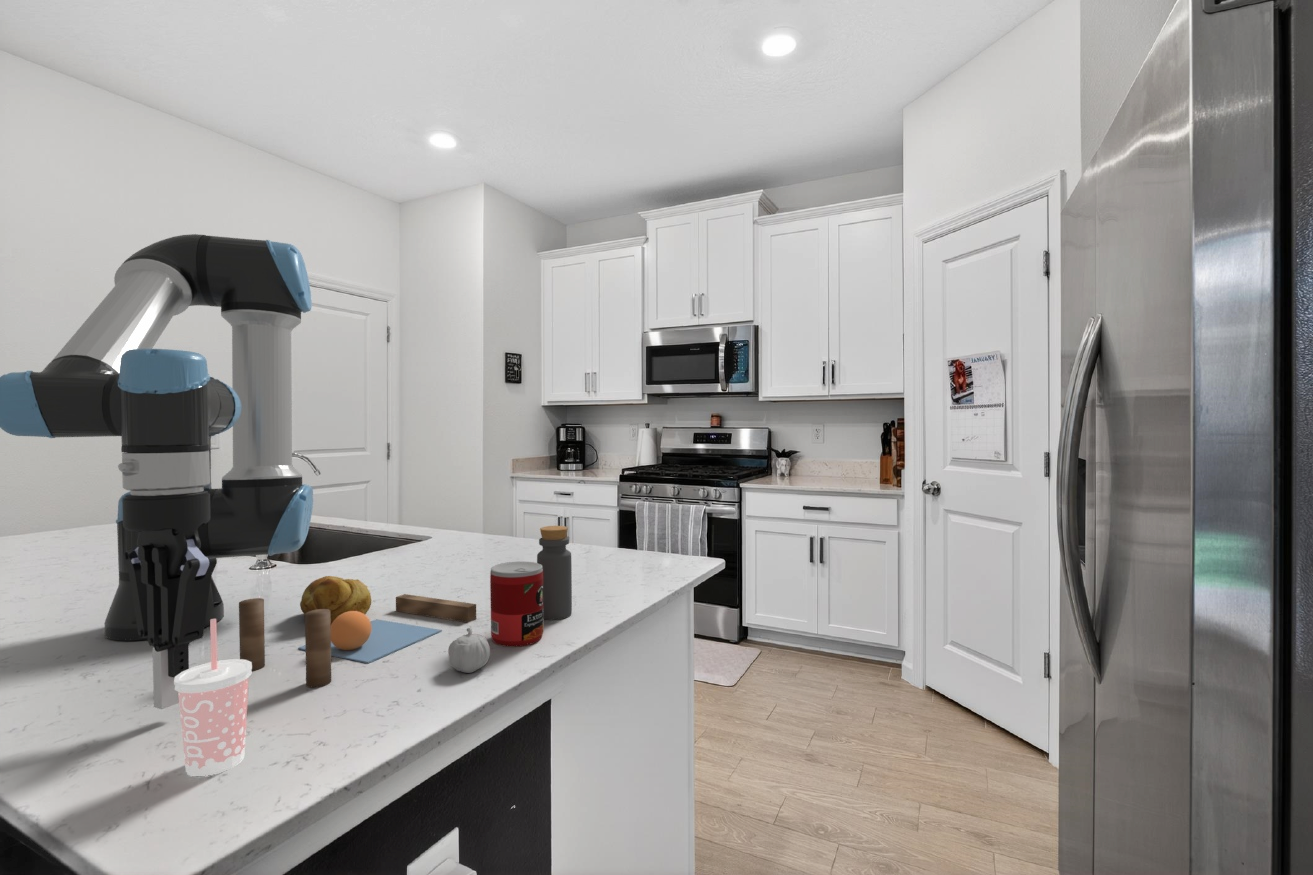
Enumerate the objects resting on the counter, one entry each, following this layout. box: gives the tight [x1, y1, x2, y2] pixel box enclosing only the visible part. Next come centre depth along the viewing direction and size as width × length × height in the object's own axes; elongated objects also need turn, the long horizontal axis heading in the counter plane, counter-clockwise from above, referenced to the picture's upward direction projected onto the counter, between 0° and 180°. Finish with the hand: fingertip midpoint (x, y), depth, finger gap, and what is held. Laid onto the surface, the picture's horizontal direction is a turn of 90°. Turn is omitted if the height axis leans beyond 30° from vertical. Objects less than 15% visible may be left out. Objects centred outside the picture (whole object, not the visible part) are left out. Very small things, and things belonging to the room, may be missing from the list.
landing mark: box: [298, 618, 443, 664], centre depth 92 cm, size 14×14×1 cm
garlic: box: [447, 627, 491, 674], centre depth 80 cm, size 6×5×5 cm
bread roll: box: [299, 575, 372, 624], centre depth 103 cm, size 13×10×8 cm
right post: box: [304, 609, 332, 689], centre depth 76 cm, size 3×3×9 cm
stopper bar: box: [395, 593, 477, 623], centre depth 103 cm, size 16×2×2 cm, turn 67°
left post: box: [238, 597, 266, 672], centre depth 81 cm, size 3×3×9 cm
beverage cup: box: [174, 619, 253, 777], centre depth 58 cm, size 6×6×14 cm
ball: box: [331, 611, 371, 650], centre depth 88 cm, size 6×6×6 cm
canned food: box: [489, 561, 544, 648], centre depth 92 cm, size 8×8×11 cm
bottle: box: [536, 525, 573, 621], centre depth 103 cm, size 6×6×15 cm
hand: (171, 702), depth 67 cm, fingers closed
